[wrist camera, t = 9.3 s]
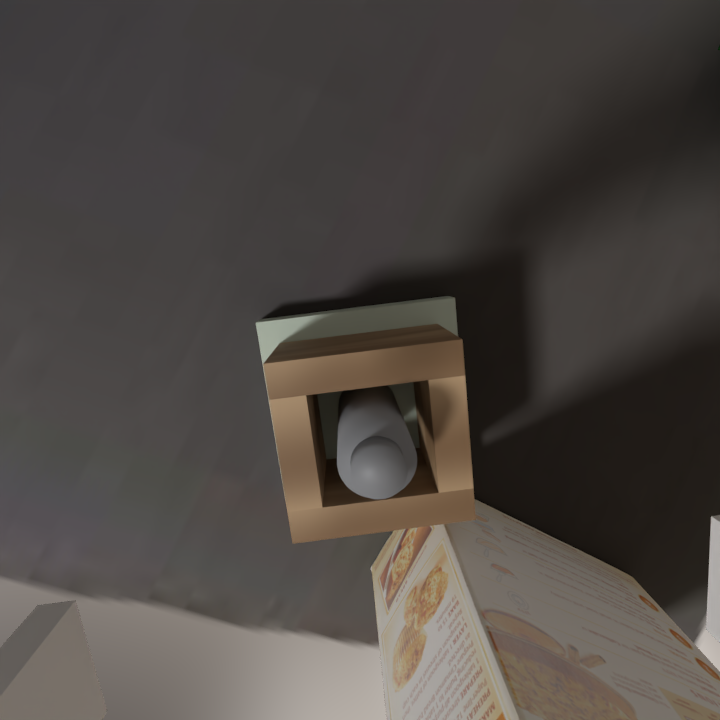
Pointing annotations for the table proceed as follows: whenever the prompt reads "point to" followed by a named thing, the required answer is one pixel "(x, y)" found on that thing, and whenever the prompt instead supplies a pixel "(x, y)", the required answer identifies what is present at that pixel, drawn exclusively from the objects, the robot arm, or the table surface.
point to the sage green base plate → (365, 394)
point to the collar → (363, 370)
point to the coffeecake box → (526, 631)
